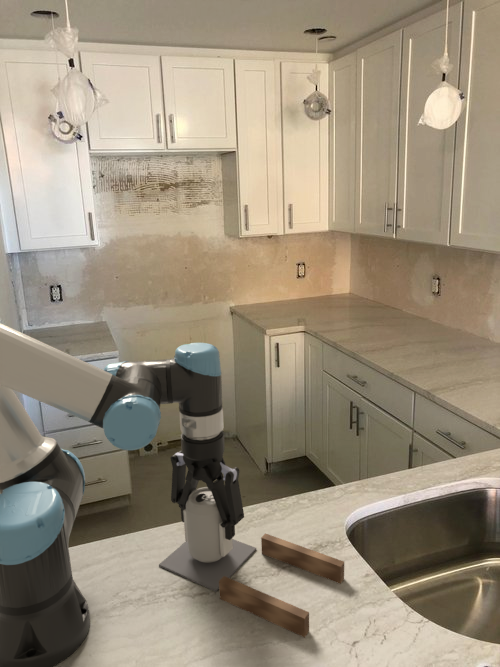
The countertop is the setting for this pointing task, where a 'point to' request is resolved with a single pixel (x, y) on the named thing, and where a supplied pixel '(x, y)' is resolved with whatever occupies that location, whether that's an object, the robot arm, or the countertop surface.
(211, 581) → the mat
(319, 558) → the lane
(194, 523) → the can
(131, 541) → the countertop surface
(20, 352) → the robot arm
